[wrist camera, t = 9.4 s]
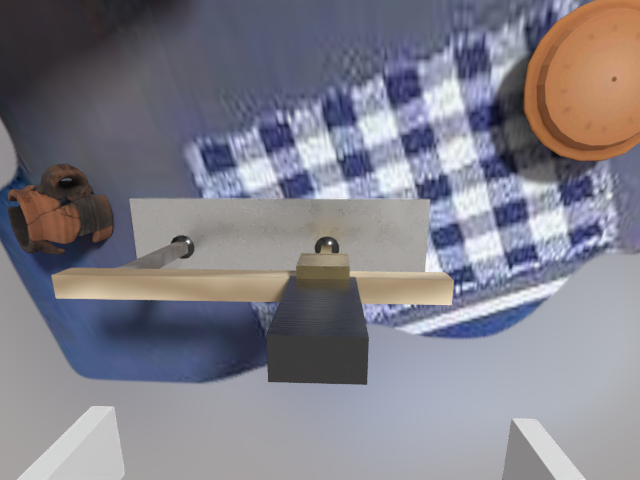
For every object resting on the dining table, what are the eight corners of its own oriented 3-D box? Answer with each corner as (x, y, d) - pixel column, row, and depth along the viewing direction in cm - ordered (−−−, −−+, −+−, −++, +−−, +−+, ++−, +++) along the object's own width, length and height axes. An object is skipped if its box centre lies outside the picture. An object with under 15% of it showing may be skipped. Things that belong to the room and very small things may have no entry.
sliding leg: (305, 230, 37) (265, 316, 15) (347, 230, 37) (369, 318, 15) (306, 267, 38) (268, 399, 16) (347, 268, 38) (366, 401, 16)
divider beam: (150, 238, 39) (51, 275, 25) (410, 241, 38) (454, 280, 24) (152, 254, 39) (55, 298, 26) (409, 257, 38) (451, 304, 24)
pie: (480, 131, 37) (502, 125, 32) (551, -10, 33) (588, -41, 29) (596, 182, 37) (636, 184, 33) (677, 49, 34) (734, 28, 29)
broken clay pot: (114, 258, 43) (36, 276, 36) (81, 221, 46) (4, 231, 39) (122, 179, 37) (32, 183, 30) (84, 143, 40) (-4, 139, 34)
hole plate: (139, 197, 40) (129, 198, 38) (425, 198, 39) (430, 199, 36) (150, 286, 43) (141, 291, 40) (418, 290, 41) (423, 296, 39)
